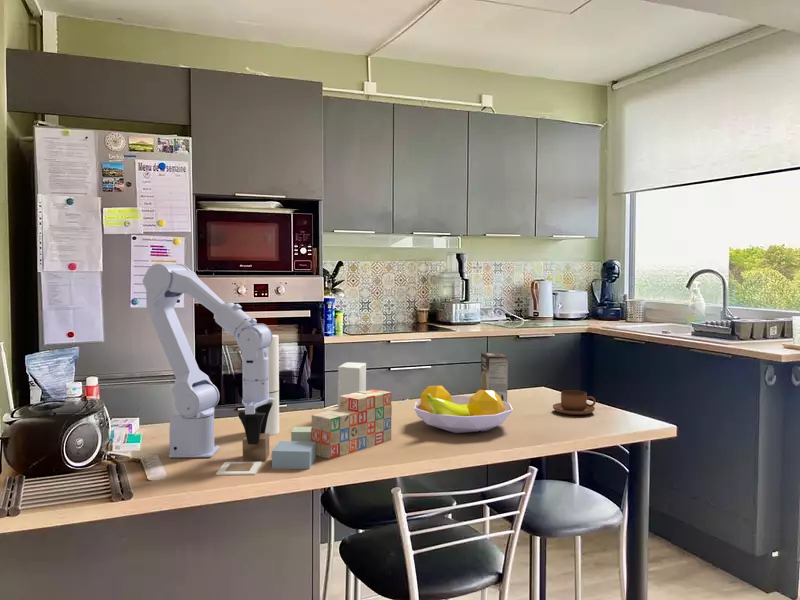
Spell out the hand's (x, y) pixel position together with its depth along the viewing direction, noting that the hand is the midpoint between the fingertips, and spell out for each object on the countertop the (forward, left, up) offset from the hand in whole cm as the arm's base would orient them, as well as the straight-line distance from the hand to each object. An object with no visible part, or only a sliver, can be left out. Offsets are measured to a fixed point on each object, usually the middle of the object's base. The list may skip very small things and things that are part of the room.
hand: (256, 439), depth 145 cm
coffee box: (+63, +54, -4) cm, 83 cm away
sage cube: (+10, +6, -4) cm, 12 cm away
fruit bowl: (+49, +27, -4) cm, 56 cm away
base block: (+9, -4, -5) cm, 11 cm away
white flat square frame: (-2, -8, -4) cm, 9 cm away
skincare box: (+20, +37, -4) cm, 42 cm away
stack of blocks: (+21, +9, -5) cm, 23 cm away
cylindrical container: (-2, +23, -4) cm, 23 cm away
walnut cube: (0, 0, -4) cm, 4 cm away
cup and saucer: (+85, +44, -5) cm, 96 cm away
